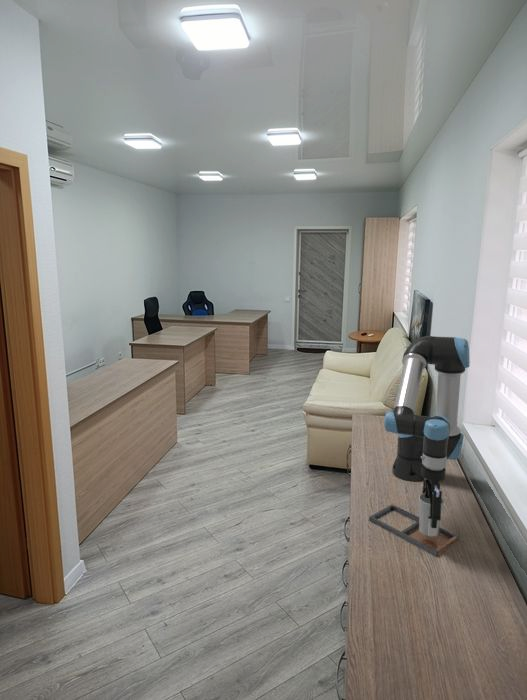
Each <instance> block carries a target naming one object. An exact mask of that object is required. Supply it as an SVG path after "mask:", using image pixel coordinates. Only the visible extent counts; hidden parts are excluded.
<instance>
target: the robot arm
mask: <svg viewBox="0 0 527 700" xmlns="http://www.w3.org/2000/svg"><path fill="white" fill-rule="evenodd" d="M401 363H402V365H403V366H402V369H401V374H400V375H401V376H400V379H399V385H398V388H397V392H396V398H395V401H394V405H393V410H392V411H386V412H385V415H384V422H383V425H384V426H383V427H384V430H385V432H389V433H393V434H396V435H397V451H396V453H397V454H396V457H395V460H394V462H393V464H392V468H391V469H392V471H391V473H392V475H394V476H395V477H397V478H399V479H401V480H403V481H409V482H420V481H423V483H422V493H421V494H424V493H425V498H430V504H431V505H430V516H428V519H429V525H428V535H429V536H437V526H438V520H440V519H442V514H441V498H442V494H443V491H442V490H441V484H440V482H442V481H444V480H445V479H446V470H447V469H446V467H447V460H453V461H456V460H458V459H459V458H460V454H461V450H462V447H463V443H464V437H465V436H464V434H463V432H462V433H461V429H460V427H459V426H458V417H459V416H458V414H459V405H460V404H459V403H460V401H459V400H460V389H461V377H462V376H461V375H462V374H464V373H465V372H466V369H467V368H469V367H470V363H471V362H470V346H469V342H468V339H466V338H462V337H456V336H454V337H452V336H432V335H425V336H422V337H418V338H417V339H416V340H414V341H413V342H412V343H410V344H409V346H408V347H406V349H405V351H404V353H403V355H402V359H401ZM427 365H432V366H433V365H434V370H435V371H436V372H437V386H436V387H437V390H436V405H435V406H436V407H435V415H433V416H425V415H417V414H415V412H416V408H417V407H416V406H417V402H418V397H419V392H420V387H421V381H422V376H423V371H424V369H425V368H426V367H427ZM440 521H441V520H440Z"/></svg>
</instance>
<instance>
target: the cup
mask: <svg viewBox="0 0 527 700" xmlns="http://www.w3.org/2000/svg"><path fill="white" fill-rule="evenodd" d="M444 502H445V501H444V499H443V497H441V515H442V513H443V508H444ZM430 505H431V504H430V498H425V493H424V494H422V493H421V494H419V495H418V513H419V514H418V517H419V527H418V528H419V529H418V530H419V531H420V532H421V533H422V534H424V535H426V536H429V535H428V525H429V519H428V516H430ZM441 519H442V518H441ZM441 519H440V520H438V526H437V535H438V534H440V533H439V527H440V525H441ZM431 537H433V536H431Z"/></svg>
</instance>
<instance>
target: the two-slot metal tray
mask: <svg viewBox="0 0 527 700" xmlns="http://www.w3.org/2000/svg"><path fill="white" fill-rule="evenodd" d="M390 511H394V512H396V513H397V514H400V515H402V516H404V517H407V518H408V519H411V520H412V521H415V522H414V523H413V524H411V525H409V526H408V527H406V528H405V529H403V530H402V531H400V530H398V529H397V528H396V527H393V526H391V525H389V524H387V523H385V522H384V521H382V520H381V519H380V520H379V518H380V517H382V516H384V515H386V514H387V513H389V512H390ZM368 521H369V522H372V523H373V524H375V525H377V526H379V527H380V528H382V529H384V530H386V531H388V532H390V533H392V534H394V535H395V536H397V537H399V538H401V539H403V540H405V541H407V542H408V543H410V544H412V545H413V546H416V547H418V548H419V549H421V550H422V551H425V552H427V553H429V554H431V555H433V556H434V557H437V556H439V555H441V554H442V553H443V552H444V551H446V550H447V549H449V548H450V547H451V546H452V545H454V544H455V543H457V542H458V541H459V538H460V537H459V535H457V534H454V533H453V532H450V531H449V530H447V529H444V528H442V527H440V526H439V534H438V535H437V536H433V537H431V536H426V535H424V534H422V533H421V532H420V531H419V529H418V528H419V516H417V515H415V514H413V513H410V512H408V511H407V510H405V509H402V508H401V507H398V506H396V505H394V504H390V505H388V506H386V507H384V508H383V509H380V510H379V511H377V512H375V513H373V514H371V515H370V516H368ZM416 529H417V530H416ZM411 532H412V533H411ZM410 533H411V534H410Z"/></svg>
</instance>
